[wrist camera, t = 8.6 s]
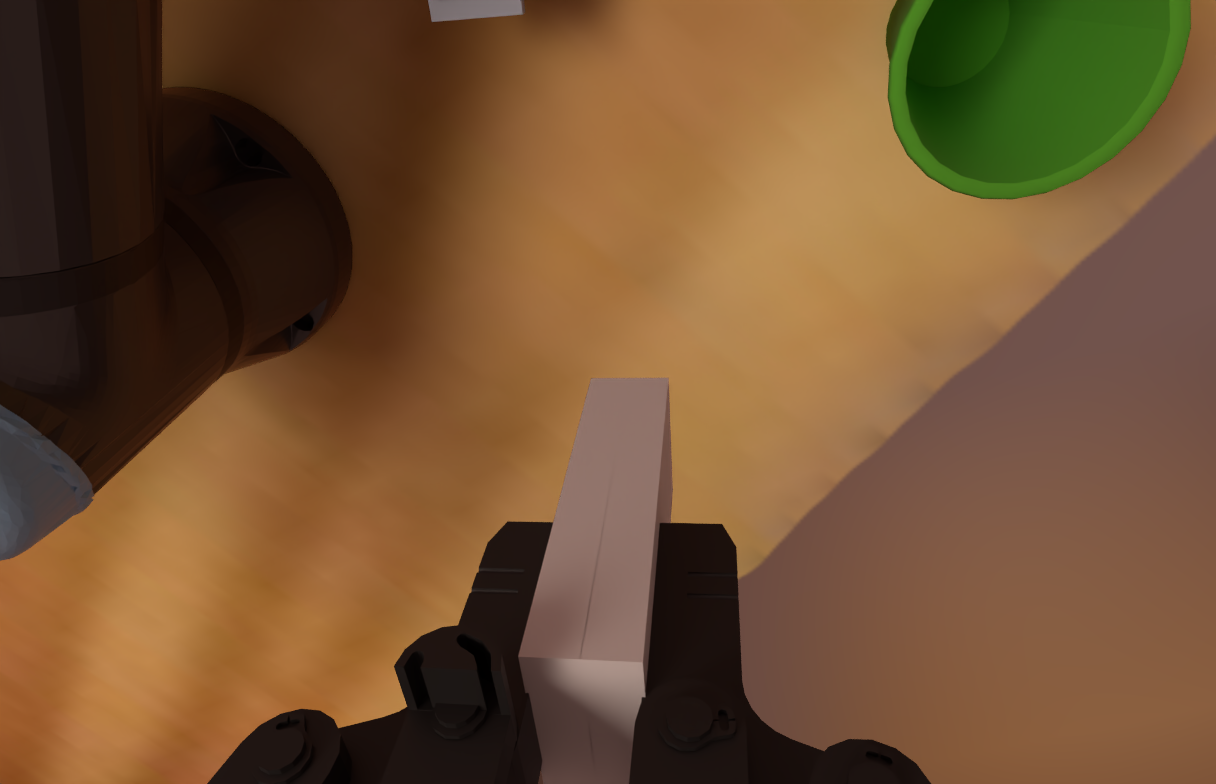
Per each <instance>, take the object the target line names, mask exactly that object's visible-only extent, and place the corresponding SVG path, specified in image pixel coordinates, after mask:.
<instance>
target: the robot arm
mask: <svg viewBox="0 0 1216 784" xmlns="http://www.w3.org/2000/svg"><path fill="white" fill-rule="evenodd" d="M351 267H352V246H351V238H350V232H349V228H348V223H347V220H346V217H345V213H344V211H343V208H342V205H341V203H340V201H339V198H338V196H337V194H336V192H335V190H334V188H333V186H332V184H331V183H330V181H329V179H328V178H327V176H326V175H325V173H324V172H323V170H322V169H321V167H320V166H319V164H318V163H317V162H316V161H315V159H314V158H313V157H312V155H311V154H310V153H309V152H308V151H307V150H306V149H305V148H304V146H303V145H302V144H301V143H300V142H299V141H298V140H297V139H296V138H295V137H293V136H292V135H291V134H290V133H289V132H288V131H287V130H286V129H284V128H283V127H282V126H281V125H279V124H278V123H277V122H275V121H274V120H273V119H271V118H270V117H268V116H267V115H265V114H264V113H262V112H260V111H259V110H257V109H255V108H253V107H252V106H250V105H248V104H246V103H244V102H241V101H239V100H237V99H235V98H232V97H229V96H227V95H224V94H220V93H217V92H213V91H209V90H204V89H198V88H188V87H172V88H163V89H162V0H0V560H6V559H10V558H13V557H15V556H17V555H19V554H21V553H23V552H24V551H26V550H28V549H29V548H31V547H32V546H33V545H34V544H36V543H37V542H38V541H40V540H41V539H43V538H44V537H45V536H47V535H48V534H49V533H51V532H52V531H53V530H55V529H56V528H57V527H59V526H60V525H61V524H63V523H64V522H65V521H67V520H68V519H69V518H71V517H72V516H73V515H76V514H78V513H80V512H82V511H84V510H85V509H86V508H87V507H88V506H89V505H90V503H91V502H92V501H93V499H92V497H93V496H94V494H95V493H96V492H98V491H99V490H100V489H101V488H102V487H103V486H104V485H105V484H106V483H107V482H108V481H109V480H110V479H111V478H113V477H114V476H115V475H116V474H117V473H118V472H119V471H120V470H121V469H122V468H123V467H124V466H125V465H127V464H128V463H129V462H130V461H131V460H132V459H133V458H134V457H135V456H136V455H137V454H138V453H139V452H141V451H142V450H143V449H144V448H145V447H146V446H147V445H148V444H149V443H150V442H151V441H152V440H153V439H154V438H156V437H157V436H158V435H159V434H160V433H161V432H162V431H163V430H164V429H165V428H166V427H167V426H168V425H170V424H171V423H172V422H173V421H174V420H175V419H176V418H177V417H178V416H179V415H180V414H181V413H182V412H184V411H185V410H186V409H187V408H188V407H189V406H190V405H191V404H192V403H193V402H194V401H195V400H196V399H197V398H199V397H200V396H201V395H202V394H203V393H204V392H205V391H206V390H207V389H208V388H209V387H210V386H211V385H212V384H213V383H214V382H215V381H217V380H218V379H219V378H220V377H221V376H222V375H223V374H226V373H229V372H232V371H235V370H238V369H241V368H244V367H247V366H250V365H253V364H256V363H259V362H262V361H265V360H268V359H271V358H275V357H278V356H280V355H283V354H285V353H287V352H289V351H292V350H293V349H295V348H297V347H298V346H300V345H301V344H303V343H304V342H306V341H307V340H308V339H310V338H311V337H312V336H313V335H314V334H315V333H316V332H317V331H318V330H319V329H320V328H321V327H322V326H323V325H324V324H325V323H326V322H327V321H328V320H329V319H330V317H331V316H332V315H333V314H334V313H335V311H336V310H337V309H338V307H339V305H340V303H341V302H342V300H343V298H344V295H345V293H346V290H347V287H348V284H349V280H350V275H351ZM672 492H673V487H672V459H671V432H670V405H669V378H591V381H590V385H589V388H588V392H587V396H586V400H585V404H584V407H583V411H582V415H581V419H580V423H579V426H578V430H577V434H576V438H575V442H574V446H573V449H572V453H571V457H570V461H569V465H568V468H567V472H566V476H565V480H564V484H563V487H562V491H561V495H560V499H559V503H558V507H557V510H556V514H555V518H554V522H553V523H552V522H507V523H506V524H505V525H504V526H503V527H502V528H501V529H500V530H499V531H498V532H497V534H496V535H495V536H494V537H493V538H492V539H491V540H490V541H489V542H488V544H487V546H486V549H485V552H484V555H483V558H482V560H481V563H480V566H479V573H477V574H476V577H475V580H474V583H473V585H472V592H471V593H470V594H469V596H468V599H467V602H466V605H465V608H464V610H463V613H462V616H461V619H460V621H459V624H458V626H449V627H442V628H439V629H437V630H434V631H432V632H430V633H427V634H425V635H423V636H421V637H420V638H419V639H417V640H416V641H415V642H414V643H412V644H411V645H410V646H409V647H407V648H406V649H405V650H404V652H403V653H402V655H401V656H400V658H399V659H398V661H397V662H396V664H395V665H394V668H395V671H396V674H397V677H398V680H399V683H400V686H401V689H402V692H403V695H404V698H405V701H406V704H407V707H406V708H405V709H403V710H401V711H399V712H397V713H394V714H391V715H388V716H385V717H382V718H378V719H374V720H370V721H366V722H362V723H358V724H354V725H350V726H346V727H342V728H338V727H337V725H336V723H335V721H334V719H332V718H331V717H329V716H328V715H326V714H325V713H323V712H321V711H318V710H308V709H299V710H295V711H291V712H286V713H282V714H279V715H278V716H276V717H274V718H272V719H270V720H269V721H267V722H265V723H263V724H261V725H260V726H259V727H257V728H256V729H255V730H254V731H253V732H252V733H251V734H250V735H249V736H248V737H247V738H246V739H245V740H244V741H242V743H241V744H240V745H239V746H238V747H237V749H236V750H235V751H234V752H233V753H232V755H231V756H230V757H229V758H228V759H227V761H226V762H225V763H224V764H223V765H222V767H221V768H220V769H219V770H218V771H217V773H216V774H215V775H214V776H213V777H212V779H211V780H210V781H209V782H208V783H207V784H538V780H539V776H540V771H541V772H542V777H543V782H544V784H931V783H930V782H929V780H928V779H927V778H926V776H925V775H924V774H923V772H922V771H921V769H920V768H919V767H918V766H917V764H916V763H915V762H913V761H912V760H911V759H909V758H908V757H906V756H905V755H904V754H902V753H901V752H900V751H898V750H897V749H896V748H893V747H890V746H888V745H885V744H882V743H879V742H876V741H874V740H861V739H860V740H859V739H848V740H845V741H843V742H840V743H837V744H835V745H832V746H830V747H828V748H827V749H826V750H825V751H822V750H819V749H816V748H814V747H811V746H808V745H806V744H803V743H800V742H797V741H795V740H792V739H790V738H788V737H786V736H784V735H782V734H780V733H778V732H776V731H774V730H773V729H772V728H771V727H769V726H768V725H767V724H766V723H764V722H763V721H762V720H761V719H760V718H759V717H758V715H757V714H756V713H755V712H754V711H753V710H752V708H751V706H750V704H749V702H748V700H747V698H746V696H745V694H744V688H743V683H742V670H741V646H740V623H739V601H738V579H737V554H736V546H735V544H734V543H733V541H732V540H731V538H730V536H729V535H728V533H727V531H726V530H725V528H724V527H723V525H722V524H692V523H670V522H671V507H672Z"/></svg>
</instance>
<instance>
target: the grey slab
mask: <svg viewBox="0 0 1216 784" xmlns="http://www.w3.org/2000/svg"><path fill="white" fill-rule="evenodd" d="M428 3H429V9H430V14H431V20H432V22H438V21H450V20H462V19H474V18H486V17H498V16H511V15H523V14H524V13H525V5H524V0H428Z"/></svg>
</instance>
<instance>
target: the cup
mask: <svg viewBox="0 0 1216 784" xmlns="http://www.w3.org/2000/svg"><path fill="white" fill-rule="evenodd" d="M1190 29H1191V11H1190V0H897V2H896V4H895V6H894V8H893V9H892V11H891V14H890V18H889V22H888V25H887V33H886V46H887V52H888V57H889V61H890V65H889V83H888V101H889V106H890V111H891V116H892V121H893V126H894V130H895V132H896V134H897V136H898V138H899V140H900V142H901V144H902V145H903V147H904V149H905V151H906V153H907V155H908V156H909V157H910V158H911V159H912V161H913V162H914V163H915V164H916V165H917V166H918V167H919V168H920V169H921V170H922V171H923V172H924V173H925V174H926V175H927V176H928V177H930V178H931V179H933V180H935V181H936V182H938V183H940V184H941V185H943V186H945V187H947V188H948V189H950V190H952V191H955V192H959V193H962V194H966V195H970V196H973V197H977V198H981V199H1017V198H1022V197H1027V196H1032V195H1037V194H1042V193H1047V192H1049V191H1052V190H1054V189H1057V188H1059V187H1061V186H1064V185H1066V184H1069V183H1071V182H1073V181H1076V180H1078V179H1081V178H1083V177H1084V176H1086V175H1087V174H1089V173H1090V172H1092V171H1093V170H1095V169H1096V168H1098V167H1100V166H1101V165H1103V164H1104V163H1106V162H1107V161H1109V160H1110V159H1112V158H1113V157H1115V156H1116V155H1117V154H1118V153H1119V152H1120V151H1121V150H1122V149H1123V148H1124V147H1125V146H1126V145H1127V144H1128V143H1130V142H1131V141H1132V140H1133V139H1134V138H1135V137H1136V136H1137V135H1138V134H1139V133H1140V132H1141V131H1142V130H1143V129H1144V127H1145V126H1146V125H1147V123H1148V122H1149V121H1150V119H1151V118H1152V117H1153V115H1154V114H1155V113H1156V111H1157V110H1158V108H1159V107H1160V106H1161V104H1162V103H1163V102H1164V100H1165V99H1166V97H1167V95H1168V92H1169V90H1170V88H1171V86H1172V84H1173V82H1174V80H1175V78H1176V76H1177V74H1178V72H1179V70H1180V68H1181V65H1182V62H1183V58H1184V54H1185V50H1186V45H1187V41H1188V37H1189V33H1190Z"/></svg>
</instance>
